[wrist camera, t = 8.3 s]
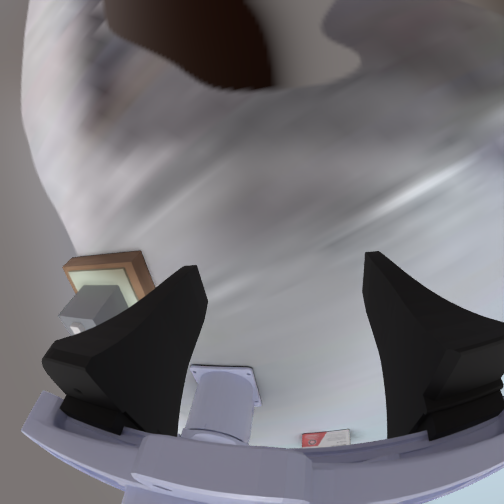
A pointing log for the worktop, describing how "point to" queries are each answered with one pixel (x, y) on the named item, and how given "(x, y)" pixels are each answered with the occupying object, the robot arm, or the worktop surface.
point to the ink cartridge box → (326, 439)
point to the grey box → (92, 307)
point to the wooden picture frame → (112, 273)
